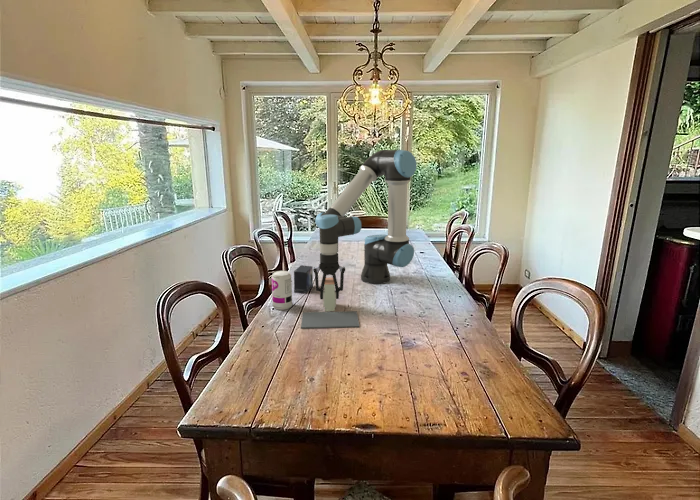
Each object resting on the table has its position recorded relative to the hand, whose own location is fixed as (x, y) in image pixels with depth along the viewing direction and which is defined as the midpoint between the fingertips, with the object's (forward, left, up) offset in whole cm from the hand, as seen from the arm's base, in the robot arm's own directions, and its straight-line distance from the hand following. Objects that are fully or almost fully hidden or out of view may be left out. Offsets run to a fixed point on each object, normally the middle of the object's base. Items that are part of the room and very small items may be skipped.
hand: (329, 305), depth 171 cm
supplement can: (+20, -2, -1) cm, 20 cm away
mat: (0, +13, -1) cm, 13 cm away
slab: (0, 0, -1) cm, 1 cm away
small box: (+12, -23, -1) cm, 26 cm away
